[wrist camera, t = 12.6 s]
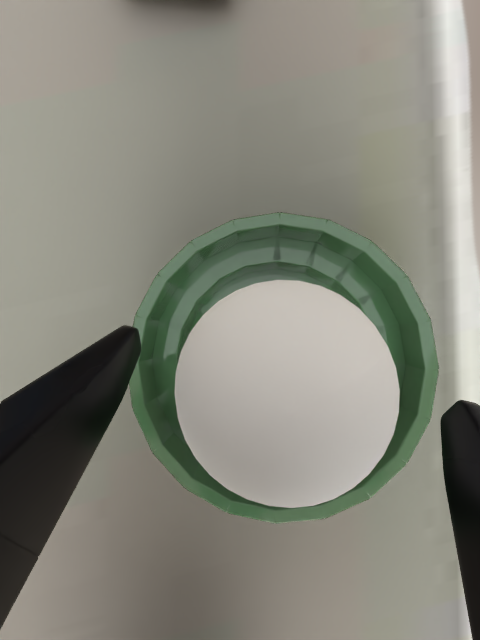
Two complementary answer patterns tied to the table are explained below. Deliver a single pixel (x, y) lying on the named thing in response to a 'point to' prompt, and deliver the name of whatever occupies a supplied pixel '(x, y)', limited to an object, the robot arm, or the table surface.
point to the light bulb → (286, 393)
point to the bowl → (267, 265)
